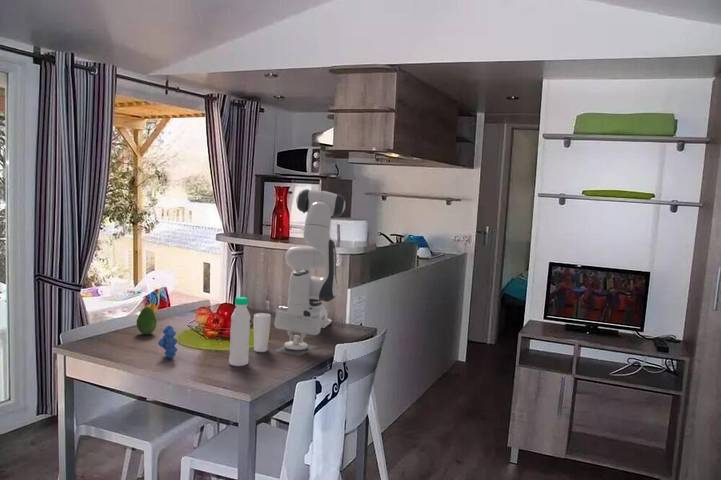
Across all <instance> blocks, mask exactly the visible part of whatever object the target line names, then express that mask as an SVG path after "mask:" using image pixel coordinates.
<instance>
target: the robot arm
mask: <svg viewBox="0 0 721 480" xmlns="http://www.w3.org/2000/svg"><path fill="white" fill-rule="evenodd" d="M295 201H296V208H297V209H298V211H300V212H302V213H303V214H305V213H306V217H305V220H304V226H303V228H304V229H303V239H304V241H305V242H306V244H307V246H305V245H304V246H303V245H302V246H300V245H298V246H291V247H289V248H288V249H287V250H286V252H285V255H284V256H285V257H284V258H285V259H284V261H285V262H286V265H287V266H288V267H289V268H290V269H292V271H291V272H290V277H289V280H288V291H287V292H288V299H287V306H282V305H279V306H277V307H276V309H275V318H274V328H276V329H278V330H284V331H287V335H288V337H289V341H293V336H294V335H293V332H296V333H300V338H298V343H303V342H304V338H305V337H306V335H312V336H317V335H319V334H320V333H321V329H324V328H325V329H326V327H328V325H330V324H331V323H332V322H333V321H332V319H330V318H328V310H327V308H325V306H323V305H322V304H323V302H326V303H329V302H330V301H333V299H335V298H336V297H337V295H338V282H337V262H338V254H337V253H338V252H336V245H335V241H334V240H332V238H331V234H330V230H331V223H332V222H331V221H332V217H333V218H337V217H341V216H342V214H343V213H344V211H345V210H346V200H345V197H344V196H343V195H341V194H339V193H334V192H330V191H327V190H317V189H316V190H313V189H309V188H304V189H301V190H300V191H299V192H298V194H297V196H296V200H295ZM311 270H324V276H316V275H313V274H312V273H311Z"/></svg>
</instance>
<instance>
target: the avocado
mask: <svg viewBox="0 0 721 480" xmlns="http://www.w3.org/2000/svg"><path fill="white" fill-rule="evenodd" d="M136 327H137V330H138V332H140V333H141V334H142V335H146V336H148V335H151V334H152V333H153V332H154V331H155V330H156V327H157V318H156V315H155V311H154V309H153V307H151V306H145V307H143V308H142V309H141V311H140V313H139V314H138V316H137V319H136Z"/></svg>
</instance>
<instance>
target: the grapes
mask: <svg viewBox="0 0 721 480" xmlns="http://www.w3.org/2000/svg"><path fill="white" fill-rule="evenodd" d="M162 332H163V336H162V338H160V339H159V340H158V342H157V344H158V346H160V348H162V349H163V350H165V352H164V355H165V356H166V357H167V358H168V359H170V360H173V359H174V358H175V356H176V355H177V354H176V353H177V351H178V348H177V347H176V346H175V345H177V344H178V340H177V339H176V338H175V336H176V334H177V333H176V331H175V329H174V328H173V326H172V325H170V324H168V325H167V326H166V327H165V328H164V329H163V330H162Z"/></svg>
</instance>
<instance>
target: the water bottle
mask: <svg viewBox="0 0 721 480" xmlns="http://www.w3.org/2000/svg"><path fill="white" fill-rule="evenodd" d="M234 305H235V308H234V309H233V312H232V314H231V317H230V320H231V322H230V331H229V333H230V334H229V335H230V339H229V340H230V346H229V357H228V363H229V365H231V366H233V367H243V366H246V365H248V363H249V351H250V345H249V344H250V335H251V334H250V333H251V322H250V321H251V314H250V312H249V309H248V305H249V298H248V297H247V296H246V297H245V296H239V297H235V299H234Z"/></svg>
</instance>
